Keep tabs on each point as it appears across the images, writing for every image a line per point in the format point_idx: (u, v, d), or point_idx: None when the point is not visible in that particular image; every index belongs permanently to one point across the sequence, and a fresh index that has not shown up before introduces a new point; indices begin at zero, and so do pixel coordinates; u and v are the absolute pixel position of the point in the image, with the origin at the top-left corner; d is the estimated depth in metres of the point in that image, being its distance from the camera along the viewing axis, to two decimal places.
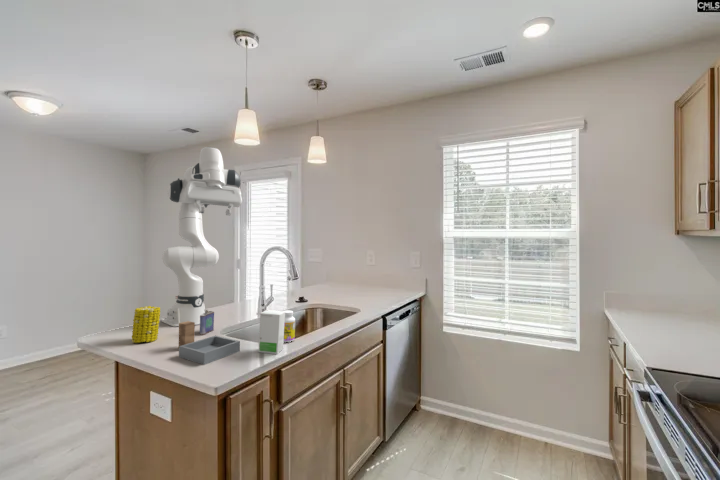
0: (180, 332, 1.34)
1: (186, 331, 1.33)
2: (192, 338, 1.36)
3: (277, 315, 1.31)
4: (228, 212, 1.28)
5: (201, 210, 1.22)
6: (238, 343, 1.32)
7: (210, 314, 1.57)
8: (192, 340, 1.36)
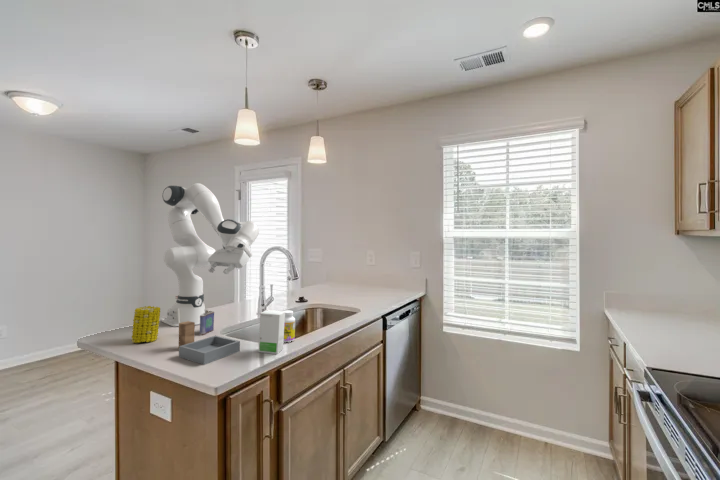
0: (180, 332, 1.34)
1: (186, 331, 1.33)
2: (192, 338, 1.36)
3: (277, 315, 1.31)
4: None
5: None
6: (238, 343, 1.32)
7: (210, 314, 1.57)
8: (192, 340, 1.36)
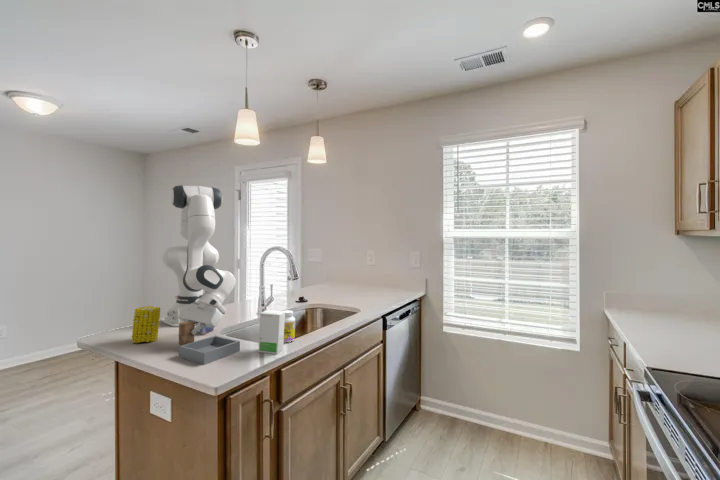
0: (180, 332, 1.34)
1: (186, 331, 1.33)
2: (192, 338, 1.36)
3: (277, 315, 1.31)
4: None
5: None
6: (238, 343, 1.32)
7: None
8: (192, 340, 1.36)
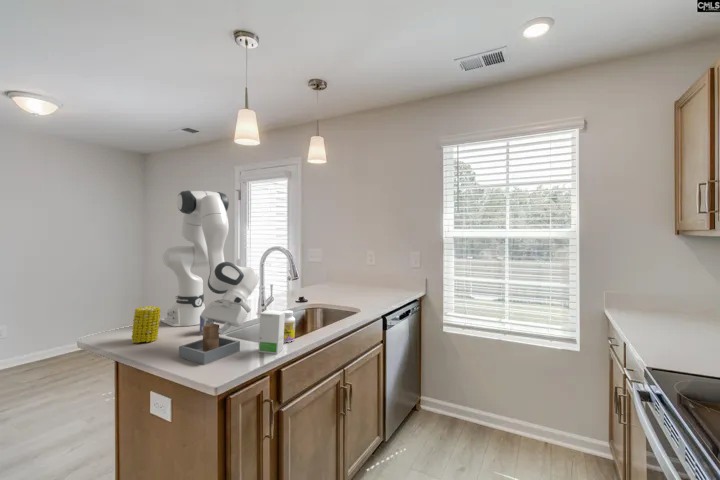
0: (204, 335, 1.28)
1: (210, 334, 1.27)
2: (216, 341, 1.29)
3: (277, 315, 1.31)
4: None
5: None
6: (238, 343, 1.32)
7: None
8: (216, 343, 1.29)
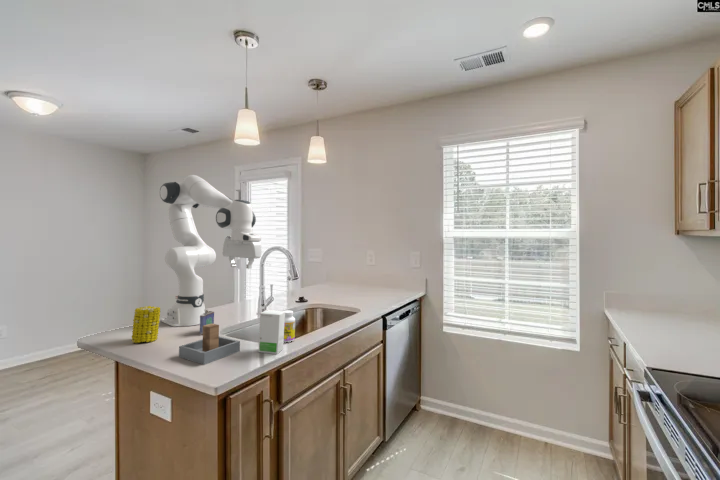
0: (204, 335, 1.28)
1: (210, 334, 1.27)
2: (216, 341, 1.29)
3: (277, 315, 1.31)
4: None
5: None
6: (238, 343, 1.32)
7: (210, 314, 1.57)
8: (216, 343, 1.29)
